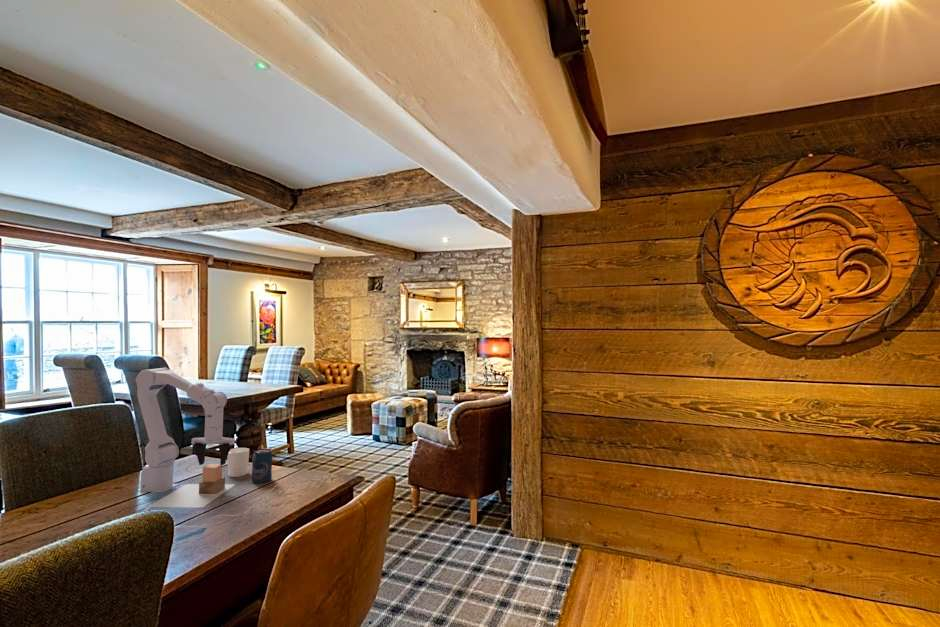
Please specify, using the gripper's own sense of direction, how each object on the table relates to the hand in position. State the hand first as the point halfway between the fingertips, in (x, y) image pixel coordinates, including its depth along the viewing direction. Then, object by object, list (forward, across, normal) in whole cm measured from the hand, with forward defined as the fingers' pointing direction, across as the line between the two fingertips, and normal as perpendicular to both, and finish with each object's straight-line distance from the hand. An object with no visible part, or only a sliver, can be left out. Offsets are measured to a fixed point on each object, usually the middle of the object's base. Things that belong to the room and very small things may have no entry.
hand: (212, 464), depth 163 cm
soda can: (+10, +14, +10) cm, 20 cm away
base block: (+9, +1, -1) cm, 9 cm away
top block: (+5, 0, -1) cm, 5 cm away
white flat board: (+10, -3, -5) cm, 11 cm away
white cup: (+10, 0, +18) cm, 21 cm away
